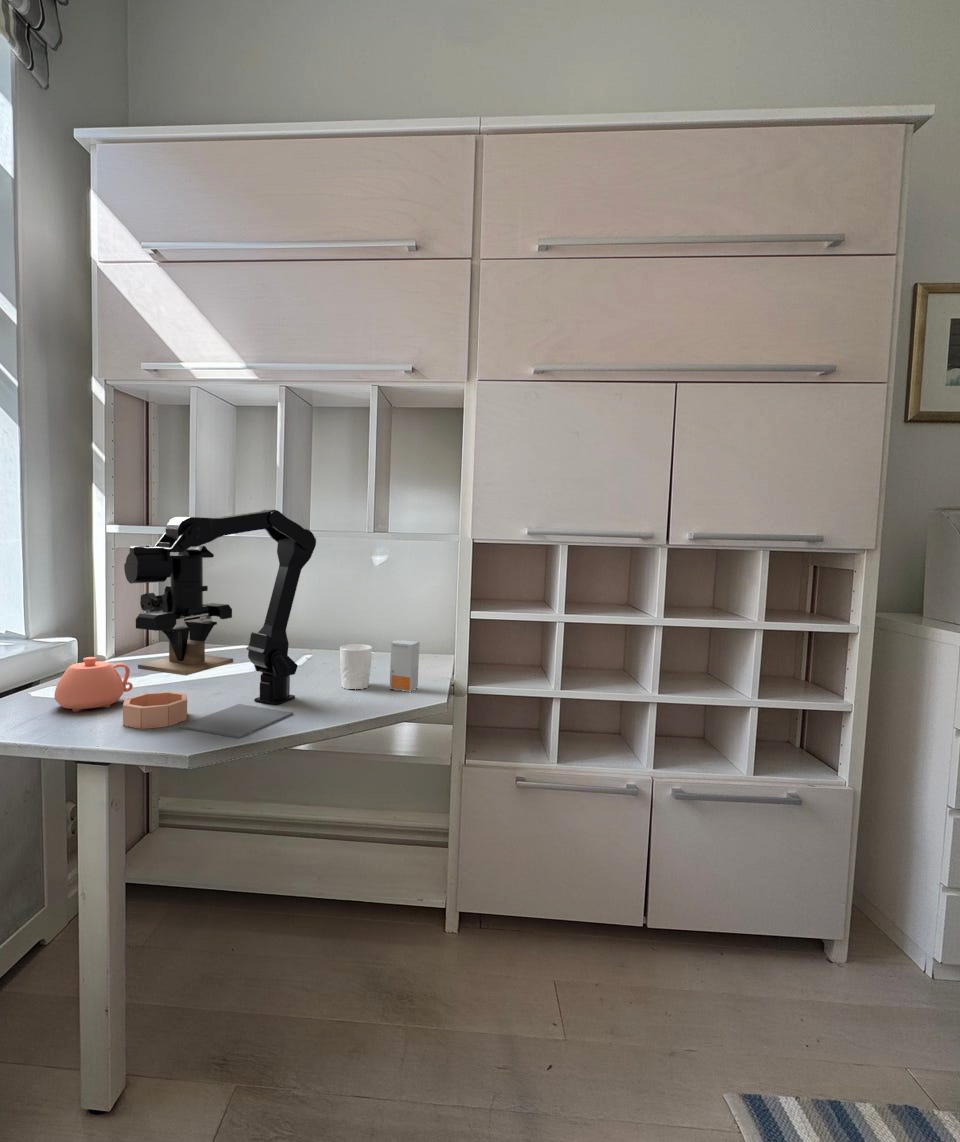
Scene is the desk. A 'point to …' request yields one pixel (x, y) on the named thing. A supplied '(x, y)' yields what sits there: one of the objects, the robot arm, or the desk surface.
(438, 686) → the desk surface
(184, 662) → the cover
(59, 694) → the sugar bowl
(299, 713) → the desk surface
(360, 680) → the white cup
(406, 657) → the skincare box
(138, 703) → the bowl
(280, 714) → the mat
